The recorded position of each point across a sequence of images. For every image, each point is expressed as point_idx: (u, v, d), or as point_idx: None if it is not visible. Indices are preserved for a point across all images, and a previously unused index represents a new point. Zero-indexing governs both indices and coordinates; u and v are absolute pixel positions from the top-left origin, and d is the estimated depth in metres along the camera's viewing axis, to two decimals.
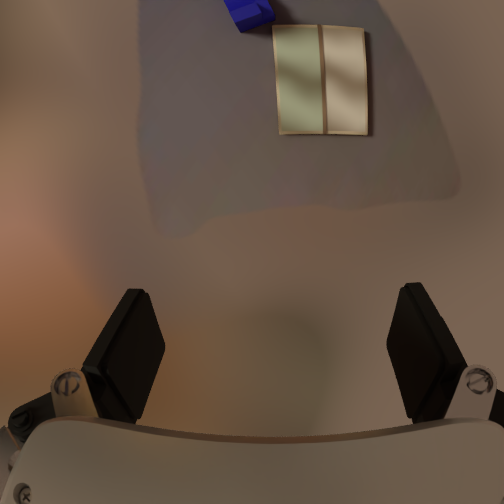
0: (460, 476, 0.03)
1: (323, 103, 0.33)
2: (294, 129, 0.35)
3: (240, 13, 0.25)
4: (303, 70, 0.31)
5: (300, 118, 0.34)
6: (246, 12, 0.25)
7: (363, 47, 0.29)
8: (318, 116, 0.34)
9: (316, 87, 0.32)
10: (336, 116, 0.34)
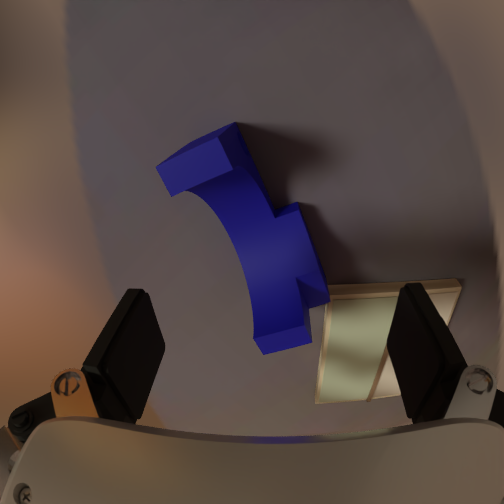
0: (460, 476, 0.03)
1: (376, 379, 0.25)
2: (334, 399, 0.27)
3: (274, 342, 0.17)
4: (361, 351, 0.23)
5: (343, 391, 0.27)
6: (285, 341, 0.17)
7: (450, 313, 0.21)
8: (366, 389, 0.26)
9: (372, 366, 0.24)
10: (387, 386, 0.26)
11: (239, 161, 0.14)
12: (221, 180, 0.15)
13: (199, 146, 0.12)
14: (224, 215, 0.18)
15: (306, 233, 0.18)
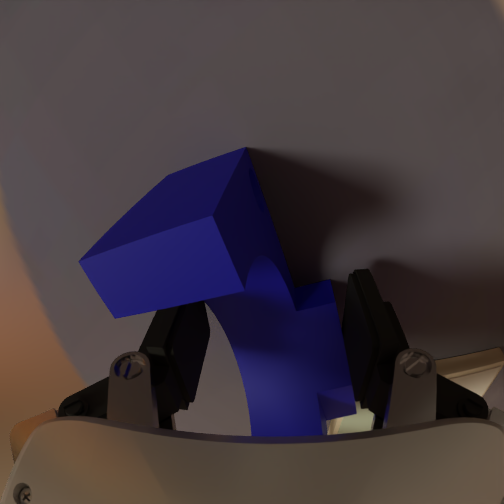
0: (460, 476, 0.03)
1: None
2: None
3: None
4: None
5: None
6: None
7: (487, 387, 0.14)
8: None
9: None
10: None
11: (254, 245, 0.07)
12: None
13: (167, 232, 0.05)
14: (216, 303, 0.11)
15: (340, 334, 0.12)
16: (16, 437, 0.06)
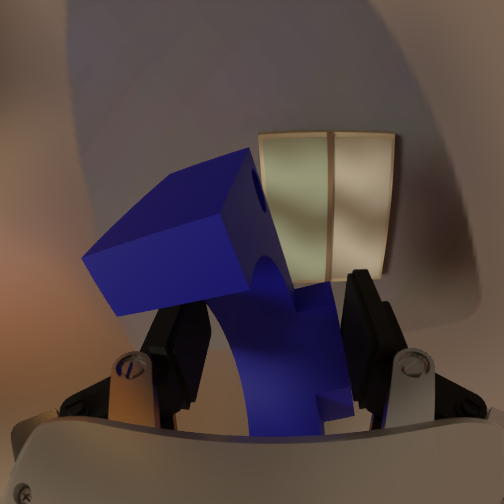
0: (460, 476, 0.03)
1: (328, 248, 0.27)
2: None
3: None
4: (303, 205, 0.25)
5: (296, 266, 0.28)
6: None
7: (391, 165, 0.23)
8: (320, 263, 0.28)
9: (320, 227, 0.26)
10: (343, 262, 0.28)
11: (257, 245, 0.07)
12: None
13: (173, 230, 0.05)
14: (216, 303, 0.11)
15: (339, 335, 0.12)
16: (17, 436, 0.06)
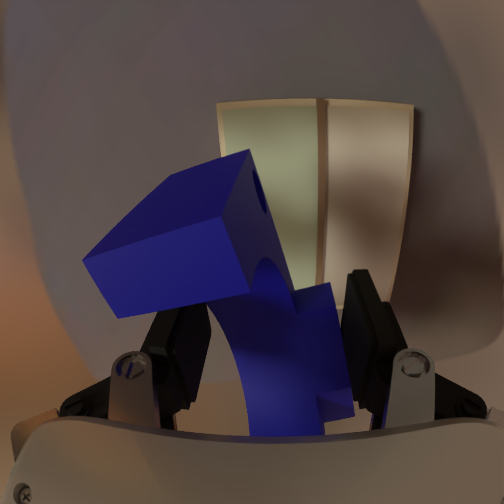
0: (460, 476, 0.03)
1: (318, 266, 0.19)
2: None
3: None
4: (282, 204, 0.18)
5: None
6: None
7: (409, 149, 0.15)
8: (308, 286, 0.20)
9: (307, 237, 0.19)
10: (340, 284, 0.20)
11: (258, 247, 0.07)
12: None
13: (174, 232, 0.05)
14: (217, 304, 0.11)
15: (340, 336, 0.12)
16: (17, 436, 0.06)
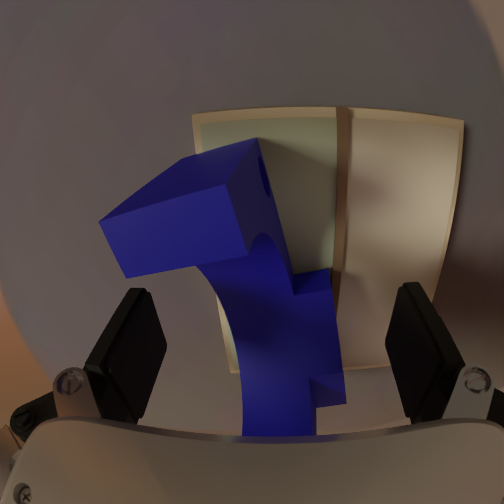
0: (460, 476, 0.03)
1: None
2: None
3: None
4: None
5: None
6: None
7: (455, 180, 0.11)
8: None
9: None
10: (355, 345, 0.15)
11: (259, 221, 0.08)
12: None
13: (184, 197, 0.06)
14: (218, 281, 0.12)
15: (335, 321, 0.12)
16: None
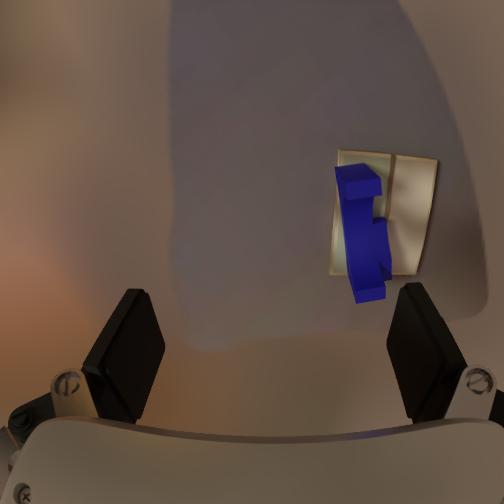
0: (460, 476, 0.03)
1: None
2: (346, 270, 0.34)
3: (365, 295, 0.28)
4: None
5: None
6: (372, 295, 0.28)
7: (433, 183, 0.28)
8: None
9: None
10: None
11: None
12: None
13: (371, 179, 0.23)
14: (347, 216, 0.29)
15: (387, 236, 0.29)
16: None
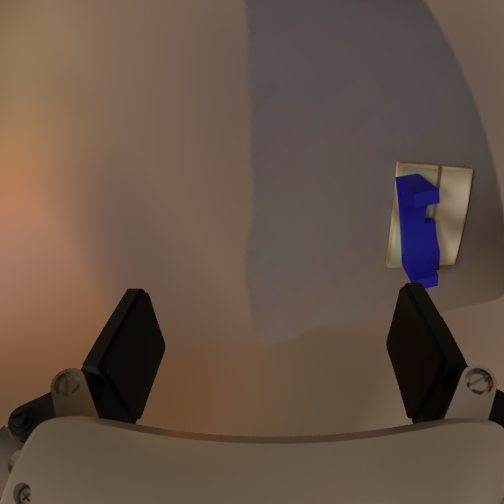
0: (460, 476, 0.03)
1: None
2: (401, 263, 0.38)
3: (423, 283, 0.32)
4: None
5: None
6: (427, 283, 0.32)
7: (469, 188, 0.32)
8: None
9: None
10: None
11: None
12: None
13: (432, 191, 0.27)
14: (406, 218, 0.33)
15: (436, 233, 0.33)
16: None
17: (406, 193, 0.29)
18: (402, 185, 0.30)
